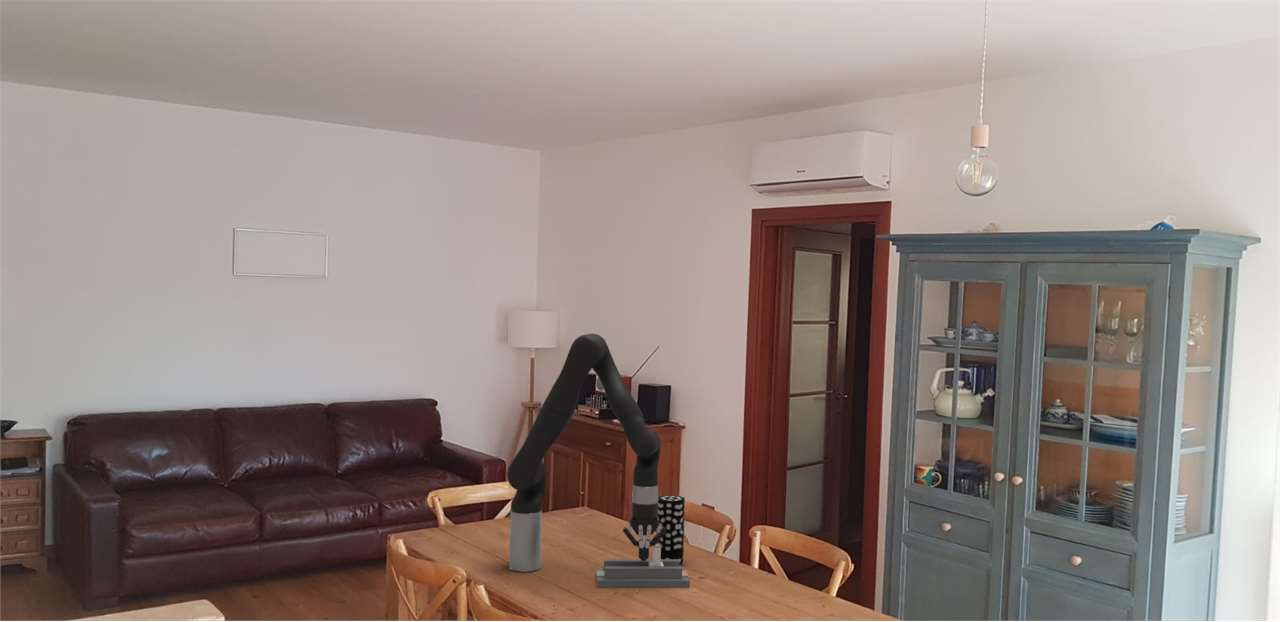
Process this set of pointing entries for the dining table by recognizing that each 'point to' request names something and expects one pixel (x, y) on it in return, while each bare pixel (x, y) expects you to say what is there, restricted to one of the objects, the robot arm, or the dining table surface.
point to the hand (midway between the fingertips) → (643, 560)
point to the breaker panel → (641, 574)
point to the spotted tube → (672, 526)
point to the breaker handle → (656, 556)
